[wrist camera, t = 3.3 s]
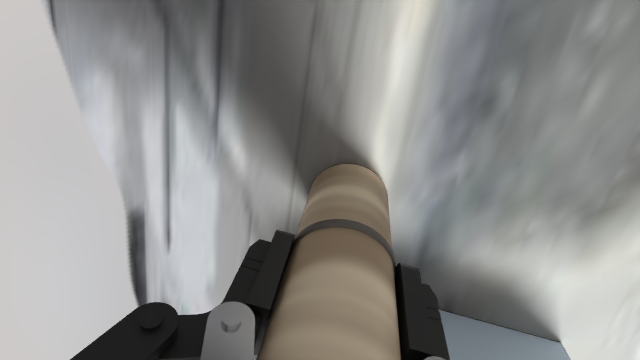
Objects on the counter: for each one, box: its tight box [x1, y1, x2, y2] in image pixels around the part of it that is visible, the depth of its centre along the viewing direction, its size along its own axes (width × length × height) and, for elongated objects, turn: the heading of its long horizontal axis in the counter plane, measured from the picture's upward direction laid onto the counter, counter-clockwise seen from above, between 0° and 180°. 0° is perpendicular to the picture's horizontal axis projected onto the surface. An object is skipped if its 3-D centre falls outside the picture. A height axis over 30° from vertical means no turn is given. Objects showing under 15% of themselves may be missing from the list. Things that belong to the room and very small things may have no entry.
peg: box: [257, 164, 401, 360], centre depth 11 cm, size 4×4×14 cm
